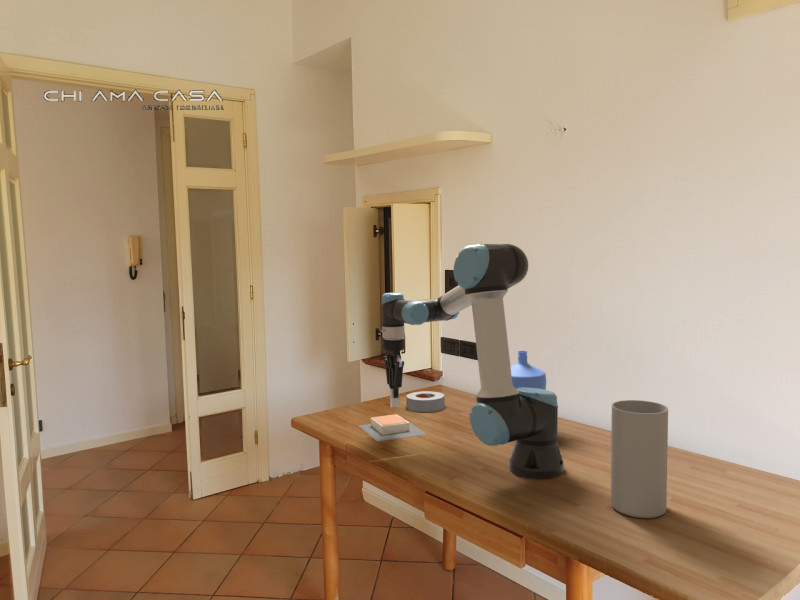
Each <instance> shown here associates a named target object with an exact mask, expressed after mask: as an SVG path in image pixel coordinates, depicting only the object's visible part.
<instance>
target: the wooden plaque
mask: <svg viewBox="0 0 800 600" xmlns="http://www.w3.org/2000/svg"><path fill="white" fill-rule="evenodd" d="M410 423H411V422H409V421H408V420H406V418H405V419H404V418H403V417H402V416H400V415H398V414H397V413H395V414H388V415H380V416H373V417H370V424H371V426H372V427H373V428H374V429H376V430H377V431H378V432H379V433H381V434H382V435H387V434H394V433H401V432H408V431H410Z"/></svg>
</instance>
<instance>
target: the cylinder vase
mask: <svg viewBox="0 0 800 600" xmlns="http://www.w3.org/2000/svg"><path fill="white" fill-rule="evenodd" d="M610 430H611V431H610V432H611V434H610V435H611V438H610V439H611V441H610V442H611V443H610V445H611V447H610V449H611V450H610V452H611V454H610V504H611V506H612V508H613V509H614V510H616V511H617V512H618V513H620V514H622V515H625V516H628V517H632V518H638V519H653V518H654V519H655V518H659V517H661V516H663V515H664V514H666V512H667V507H668V506H667V502H668V500H667V499H668V498H667V497H668V494H667V493H668V449H669V448H668V445H669V444H668V439H669V436H668V434H669V407H668V406H667V405H664V404H662V403H658V402H653V401H650V400H649V401H648V400H640V399H639V400H636V399H625V400H617V401H614V402H613V403H612V404H611V429H610Z"/></svg>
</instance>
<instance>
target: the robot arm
mask: <svg viewBox="0 0 800 600" xmlns="http://www.w3.org/2000/svg"><path fill="white" fill-rule="evenodd" d="M528 271H529V259H528V256H527V255H526V253H525V252H524V251H523V250H522V249H521V247H518V246H516V245H514V244H510V243H477V244H470V245H467V246H464V247H463V248H462V249H461V250H460V251H459V252H458V254H457V255H456V258H455V260H454V264H453V277H454V281H455V282H456V283H457V286H455V287H454V288H452V289H451V290H449V291H447V292H446V293H444V294H443V295H441V296H439V297H437V298H429V299H418V300H417V299H416V300H415V299H414V300H407V299H405V295H404V294H403V293H402V292H385V293H383V294H382V295H381V305H380V306H381V323H382V324H381V325H382V329H381V330H380V331H381V333H382V338H383V339H382V344H381V345H382V350H383V351H385V352H386V355H384V356H383V360H384V366H385V376H386V383H387V385H388V387H389V404H390V405H389V407H390V408H398V407H400V392H399V391H400V388H403V376H404V375H403V372H404V366H405V361H404V360H402V356H401V355H402V354H401V352H402V351H404V350H405V349H406V348H405V345H406V344H405V339H404V338H405V333H406V332H405V331H406V330H405V324H408V325H410V326H415V325H416V326H421V325H424V323H430V322H431V323H432V322H441V321H443V322H444V321H446V322H447V321H450V320H454V319H456V318H457V317H458V315H459V314H460V312H462V311H463V310H465V309H467V308H469V307H471V310H472V318H473V326H474V327H473V328H474V329H473V330H474V338H475V346H476V354H477V364H478V372H479V373H478V374H479V375H478V376H479V382H480V389H479V391H478V392H477V393H476V395H475V397H476V398H475V399H476V403H475V404H474V405H473V406H472V407H471V408H470V412H469V417H468V418H469V424H470V426H471V430H472V432H473V433H474V435H475V437H476V438H477V439H478V440H479V441H480V442H482V443H483V444H484V445H487V446H491V447H492V446H493V447H494V446H499V445H500V446H502V445H506V444H507V443H512V442H515V443H514V446H513V448H512V451H511V456H510V458H509V466H508V467H509V470H510V472H512V473H513V474H515V475H517V476H521V477H525V478H528V479H529V478H530V479H538V480H539V479H540V480H541V479H551V478H556V477H559V476H561V475H563V473H564V471H565V469H564V467H565V463H564V460H563V457H562V454H561V450H560V448H559V445H558V421H559V420H558V419H559V417H558V416H559V415H558V413H559V404H558V395H556V393H555V392H553V391H550V390H548V389H546V390H543V389H537V388H525V387H523V388H517V389H516V388H515V387H514V386H513V384H512V375H511V366H512V365H511V358H510V350H509V348H510V347H509V342H508V332H507V323H506V314H505V306H504V297H505V296H506V294H507V293H508V292H509V290H508V289H510V288H512V287H514V286H516V285H518V284H519V283H520V282H522V281H523V279H525V277H526V276H527V274H528Z"/></svg>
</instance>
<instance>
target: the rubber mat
mask: <svg viewBox="0 0 800 600" xmlns="http://www.w3.org/2000/svg"><path fill="white" fill-rule="evenodd" d="M409 423H410V431H408V432H401V433H394V434H387V435H382V434H381V433H379V432H378V431H377V430H376V429H374V428H373V427H372V426H371V423H369V424H366V423H365V424H360V425H359V424H358V427H359V428H360V429H362V430H363V431H364V432H365V433H366V434H368V435H369V436H370V437H371V438H372V439H373V440H375V441H376V442H384V441H389V440H398V439H406V438H412V437H417V436H418V437H419V436H425V435H426V436H427V433H426V432H424V431H423V430H421V429H420V428H418V427H417V426H415V425H414V424H412V423H411V422H409Z"/></svg>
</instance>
